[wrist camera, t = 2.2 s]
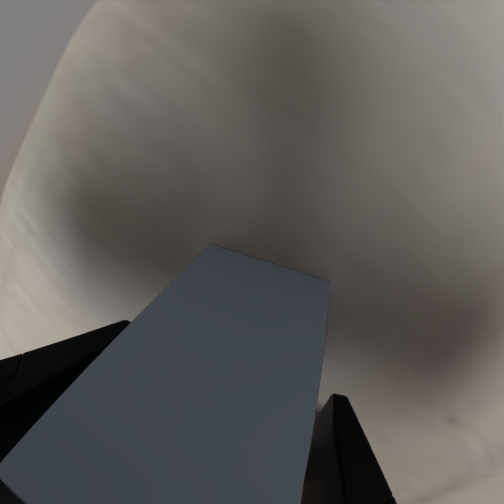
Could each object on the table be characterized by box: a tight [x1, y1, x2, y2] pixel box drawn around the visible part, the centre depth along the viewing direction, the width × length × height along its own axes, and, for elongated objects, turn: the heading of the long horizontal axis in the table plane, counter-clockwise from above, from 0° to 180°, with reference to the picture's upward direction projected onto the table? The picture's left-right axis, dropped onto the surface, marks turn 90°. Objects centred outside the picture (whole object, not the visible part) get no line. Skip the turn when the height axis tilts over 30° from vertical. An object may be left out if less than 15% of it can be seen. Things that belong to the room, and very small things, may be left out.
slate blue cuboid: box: [0, 244, 330, 504], centre depth 7 cm, size 4×4×9 cm
